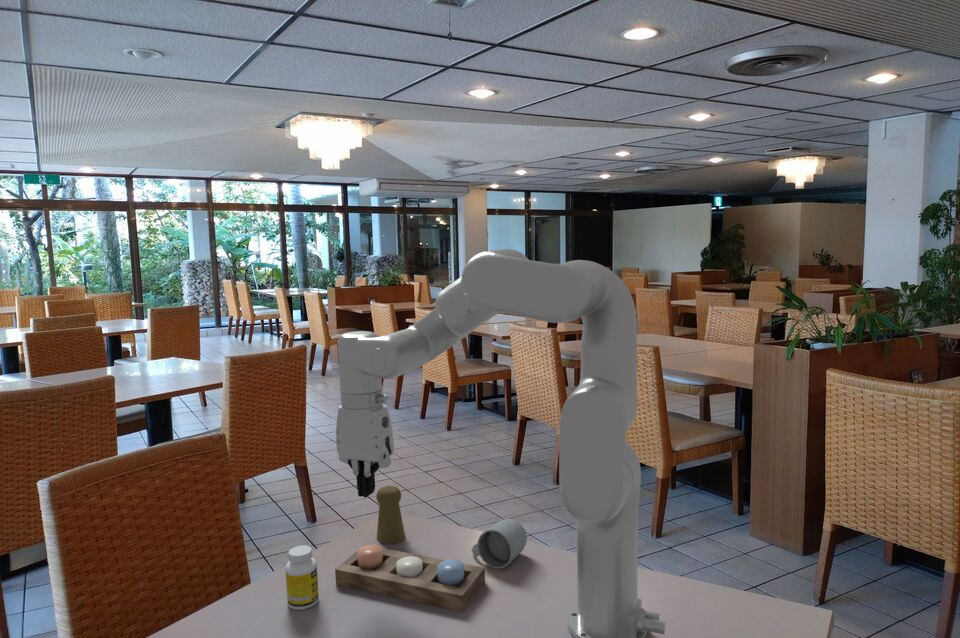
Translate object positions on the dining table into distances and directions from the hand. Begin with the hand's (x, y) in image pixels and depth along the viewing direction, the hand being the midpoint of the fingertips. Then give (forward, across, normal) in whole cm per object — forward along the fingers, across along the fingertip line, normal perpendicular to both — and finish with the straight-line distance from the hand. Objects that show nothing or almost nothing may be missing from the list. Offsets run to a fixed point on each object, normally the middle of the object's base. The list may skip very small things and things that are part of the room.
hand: (366, 494), depth 124 cm
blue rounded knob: (+14, -17, 0) cm, 22 cm away
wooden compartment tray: (+16, -9, 0) cm, 18 cm away
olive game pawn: (+17, +4, -15) cm, 23 cm away
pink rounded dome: (+14, 0, 0) cm, 14 cm away
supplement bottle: (+17, +6, +12) cm, 21 cm away
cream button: (+15, -9, 0) cm, 17 cm away
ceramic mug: (+16, -20, -14) cm, 30 cm away
